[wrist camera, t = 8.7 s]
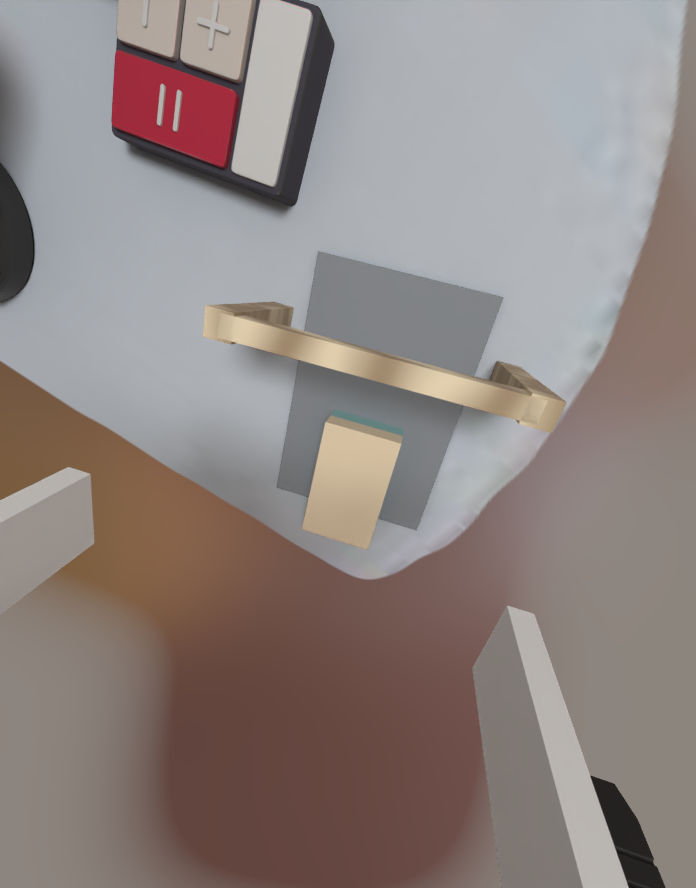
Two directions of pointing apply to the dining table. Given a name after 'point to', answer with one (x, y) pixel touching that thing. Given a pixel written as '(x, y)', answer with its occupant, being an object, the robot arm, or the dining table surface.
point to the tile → (351, 477)
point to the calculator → (223, 86)
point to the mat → (394, 332)
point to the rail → (385, 364)
